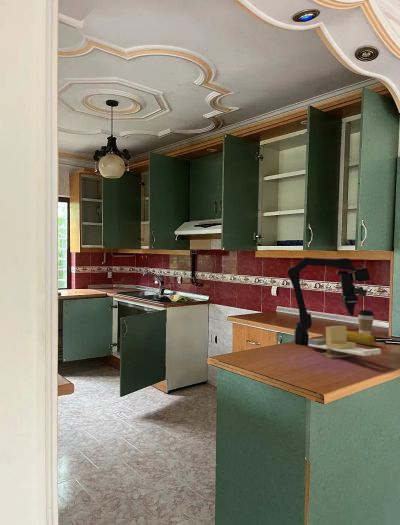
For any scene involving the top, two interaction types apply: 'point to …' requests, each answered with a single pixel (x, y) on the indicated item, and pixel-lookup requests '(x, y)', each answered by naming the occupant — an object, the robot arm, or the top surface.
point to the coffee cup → (365, 321)
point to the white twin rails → (358, 351)
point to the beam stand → (336, 354)
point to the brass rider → (338, 338)
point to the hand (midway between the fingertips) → (351, 314)
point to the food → (360, 338)
